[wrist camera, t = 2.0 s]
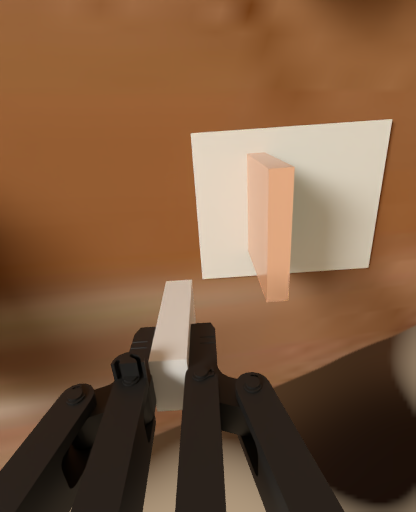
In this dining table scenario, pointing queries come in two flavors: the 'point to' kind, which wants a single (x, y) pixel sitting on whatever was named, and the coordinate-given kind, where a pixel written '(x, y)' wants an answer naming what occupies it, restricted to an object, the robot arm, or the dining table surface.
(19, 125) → the dining table surface
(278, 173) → the tile
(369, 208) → the mat
